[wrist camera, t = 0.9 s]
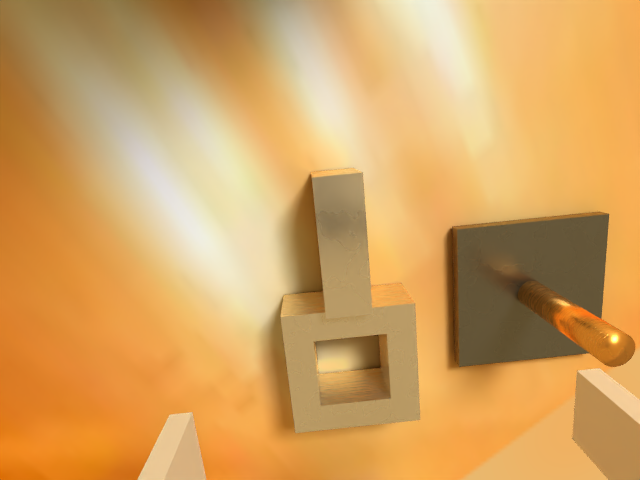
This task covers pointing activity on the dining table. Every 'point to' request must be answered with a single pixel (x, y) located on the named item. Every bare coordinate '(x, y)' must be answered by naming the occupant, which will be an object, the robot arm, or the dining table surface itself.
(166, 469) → the robot arm
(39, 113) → the dining table surface
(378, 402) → the square loop with stem
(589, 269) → the peg on square plate
